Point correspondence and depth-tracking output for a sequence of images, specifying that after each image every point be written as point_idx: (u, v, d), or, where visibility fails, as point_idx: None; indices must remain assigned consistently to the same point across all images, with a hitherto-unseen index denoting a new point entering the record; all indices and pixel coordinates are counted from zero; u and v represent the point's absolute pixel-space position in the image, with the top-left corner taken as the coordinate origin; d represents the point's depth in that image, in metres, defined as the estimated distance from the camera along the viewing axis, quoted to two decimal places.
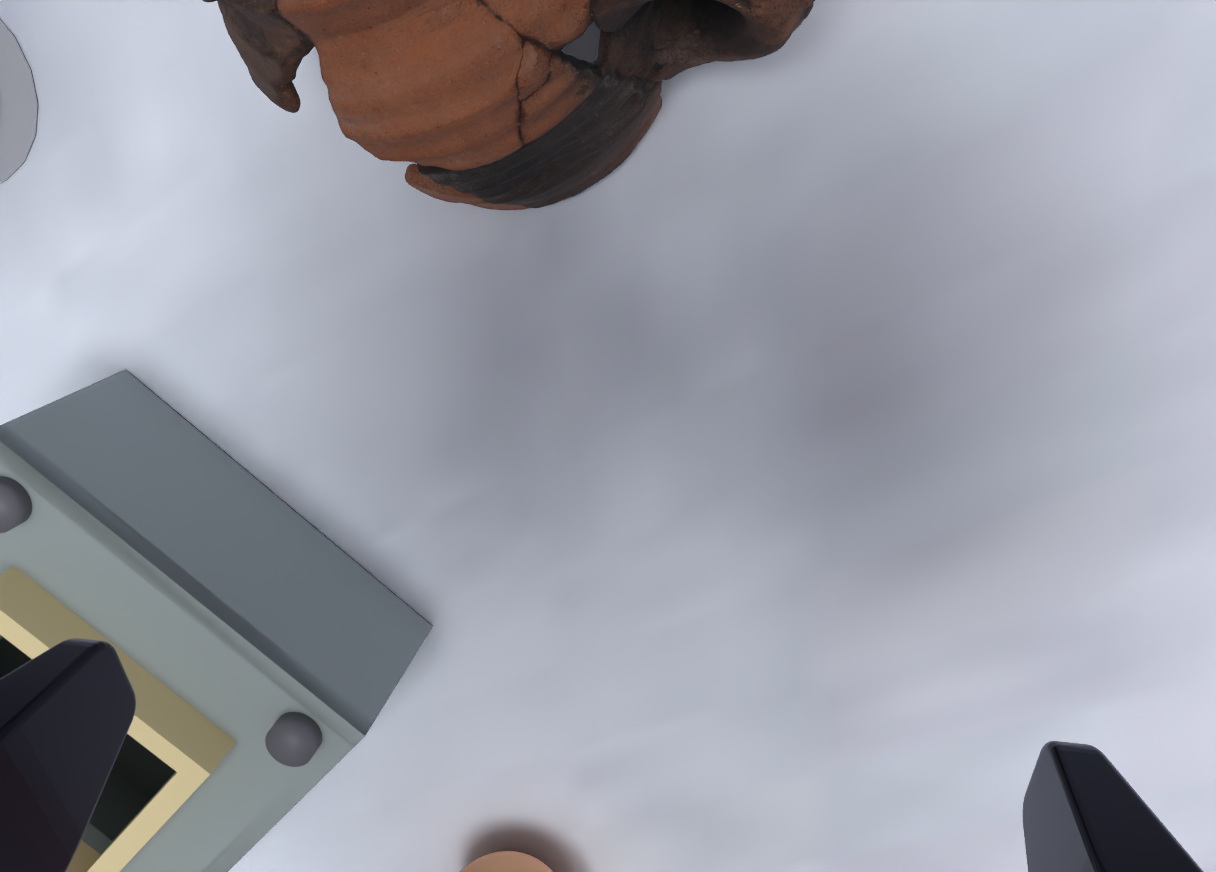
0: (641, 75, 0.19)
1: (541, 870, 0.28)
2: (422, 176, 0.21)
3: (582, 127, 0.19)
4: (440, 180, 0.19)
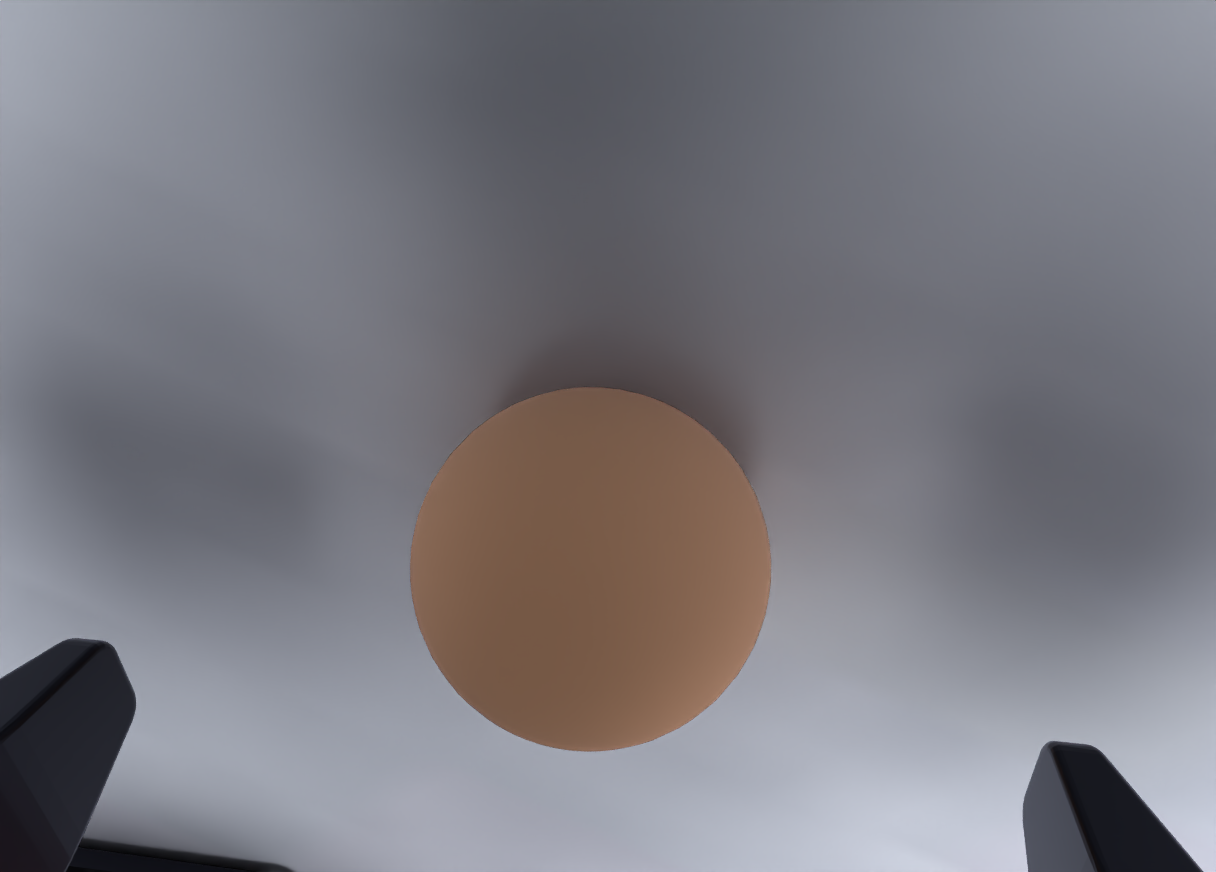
0: None
1: None
2: None
3: None
4: None
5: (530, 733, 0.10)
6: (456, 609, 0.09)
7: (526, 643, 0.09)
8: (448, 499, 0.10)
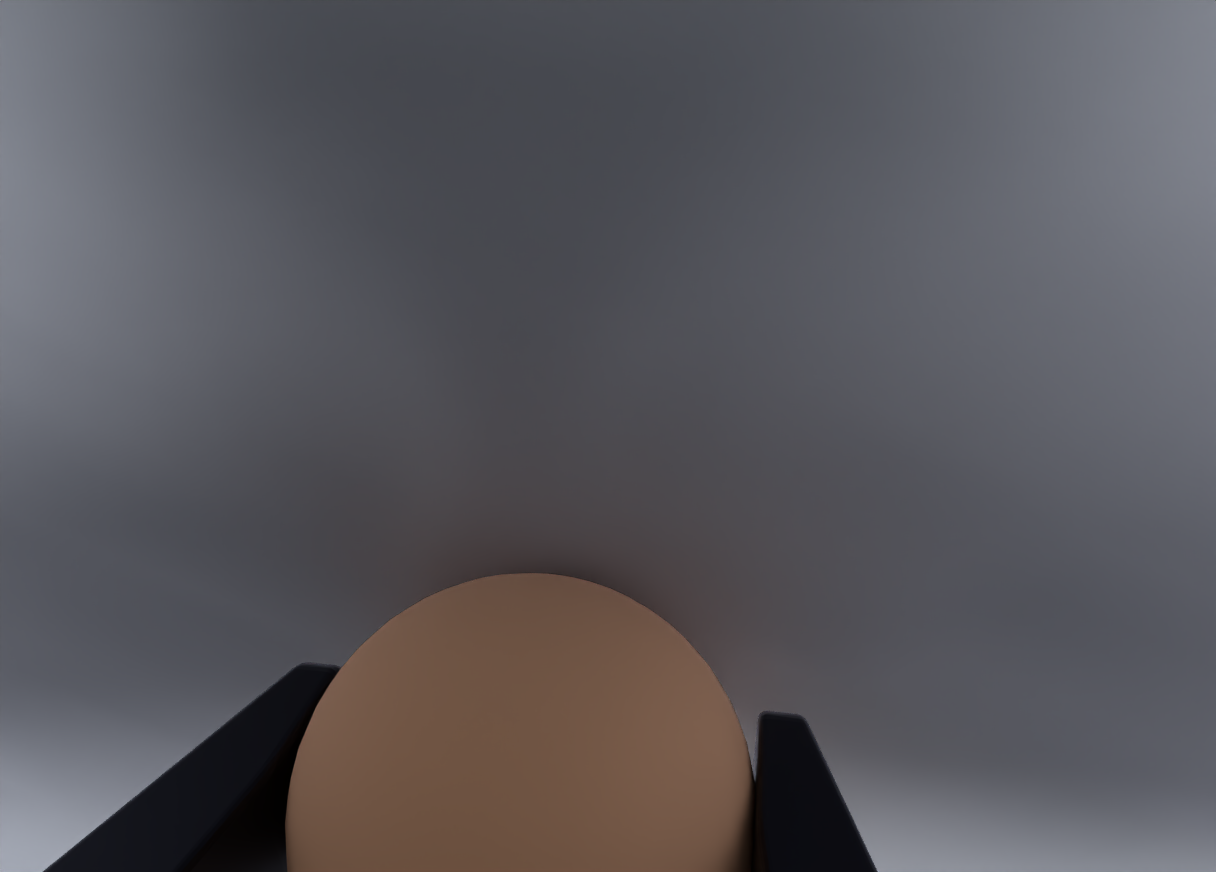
0: None
1: (746, 748, 0.08)
2: None
3: None
4: None
5: None
6: None
7: None
8: (325, 753, 0.07)
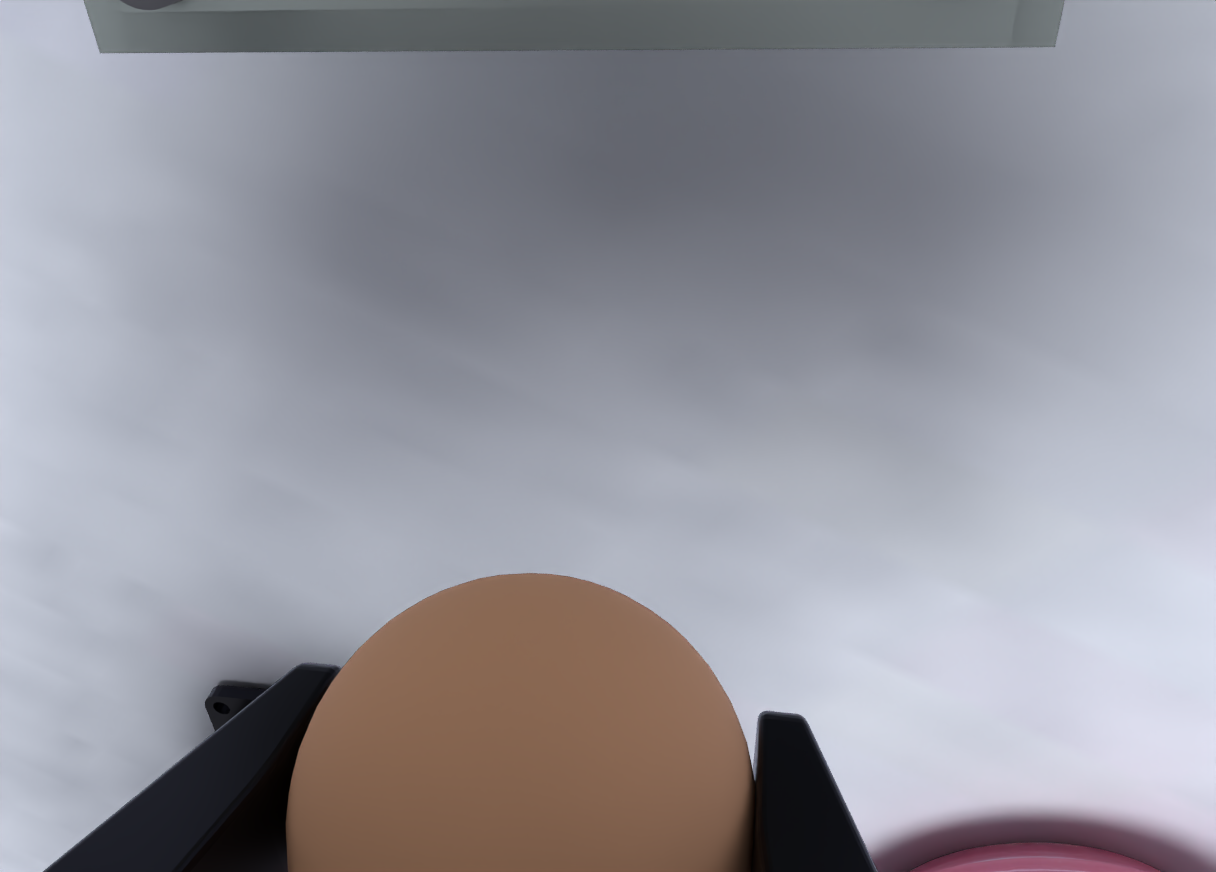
0: None
1: (746, 747, 0.08)
2: None
3: None
4: None
5: None
6: None
7: None
8: (326, 754, 0.07)
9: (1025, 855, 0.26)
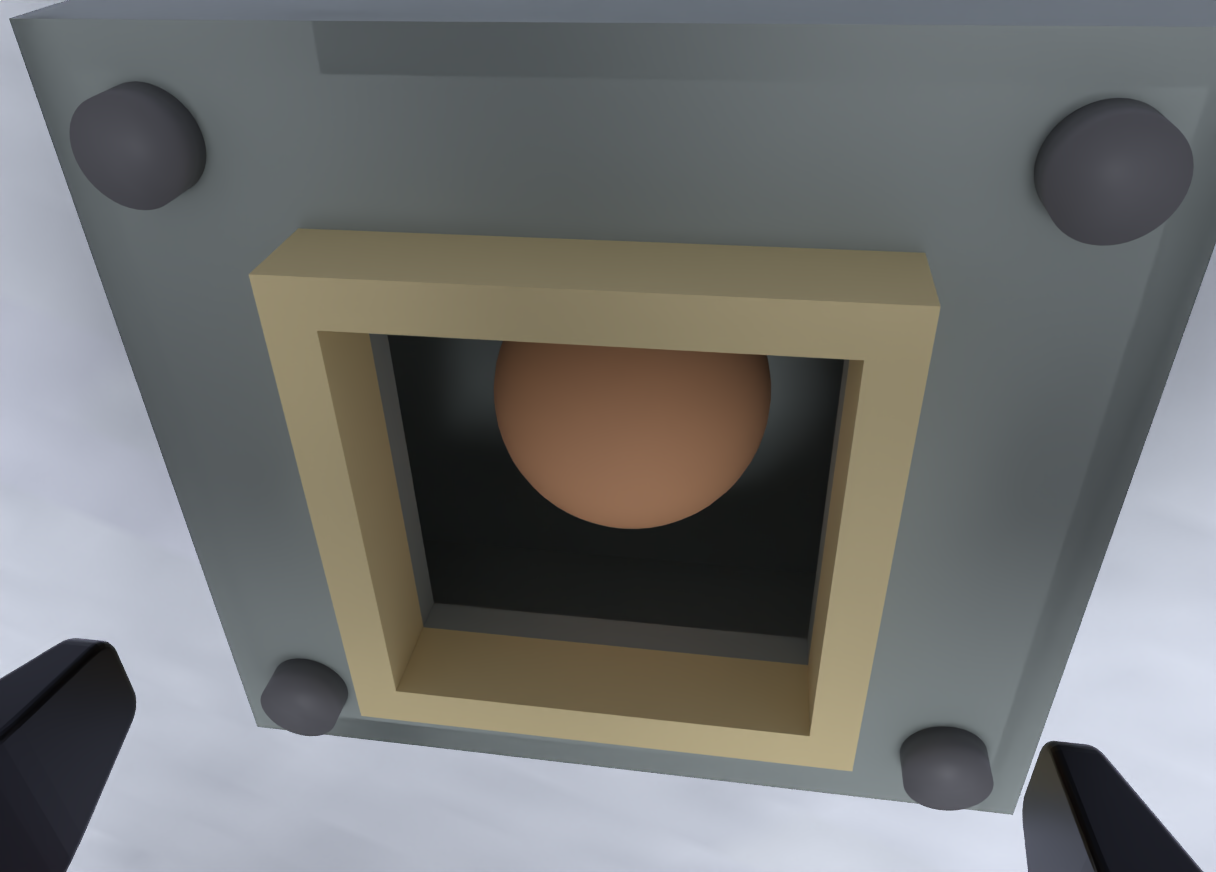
0: None
1: None
2: None
3: None
4: None
5: (590, 503, 0.13)
6: (537, 402, 0.12)
7: (591, 422, 0.12)
8: None
9: None
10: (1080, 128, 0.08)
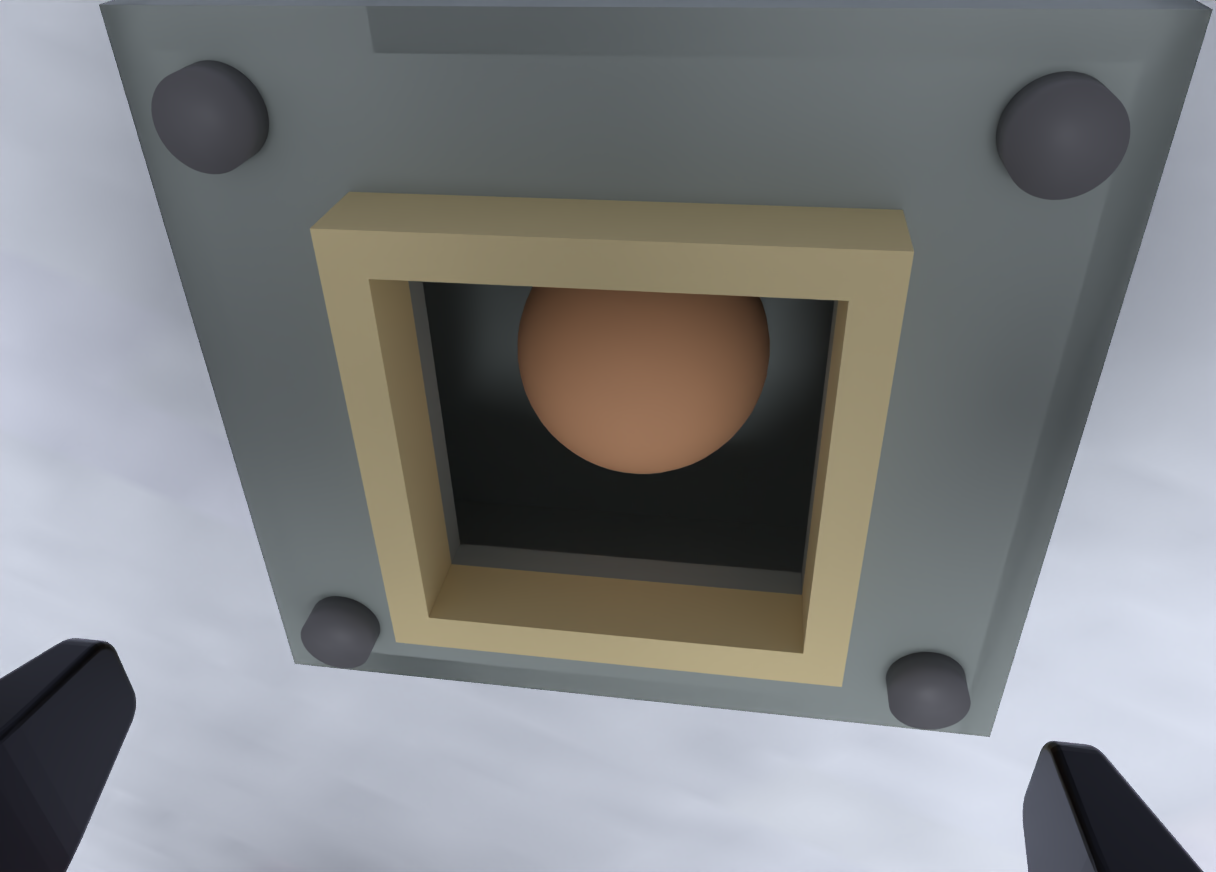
0: None
1: None
2: None
3: None
4: None
5: (607, 447, 0.14)
6: (559, 355, 0.14)
7: (610, 371, 0.13)
8: (550, 287, 0.14)
9: None
10: (1034, 96, 0.10)
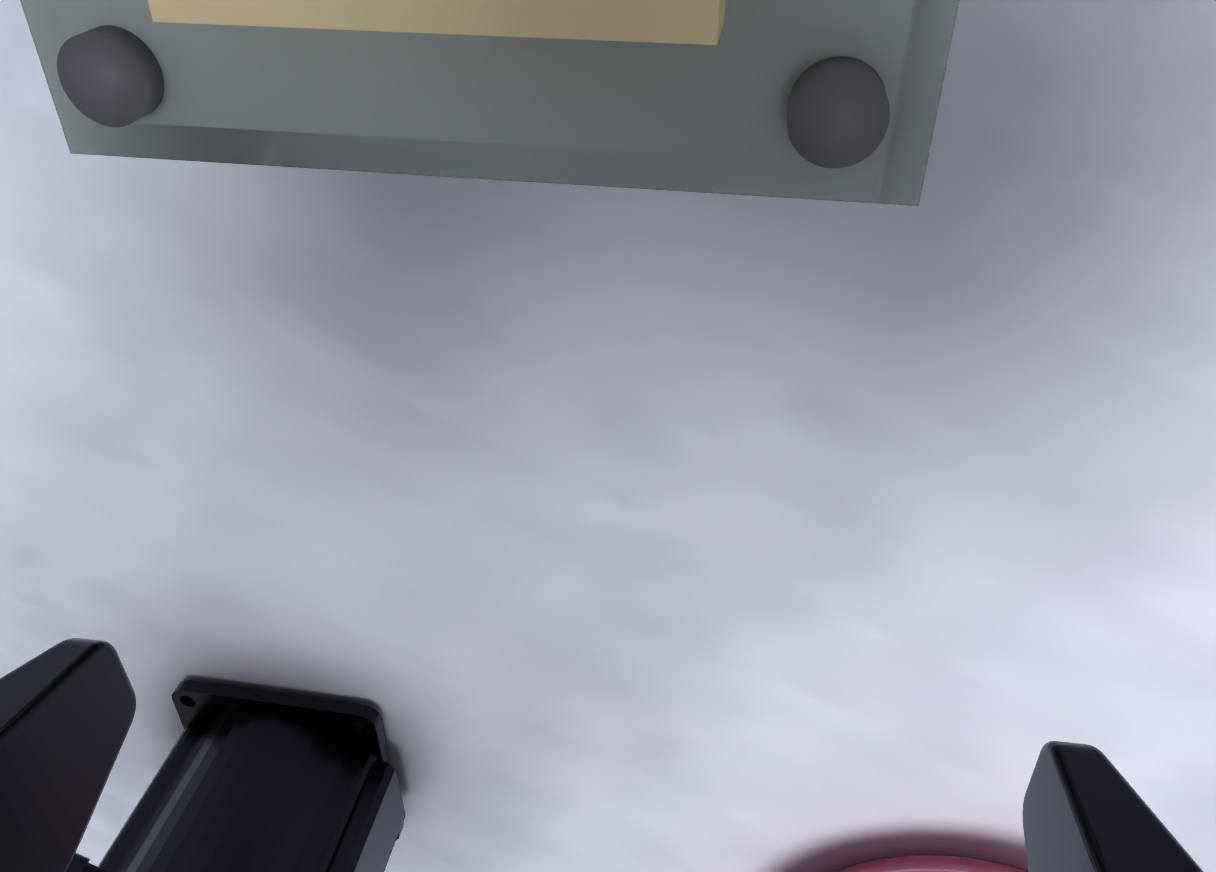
0: None
1: None
2: None
3: None
4: None
5: None
6: None
7: None
8: None
9: (932, 868, 0.28)
10: None
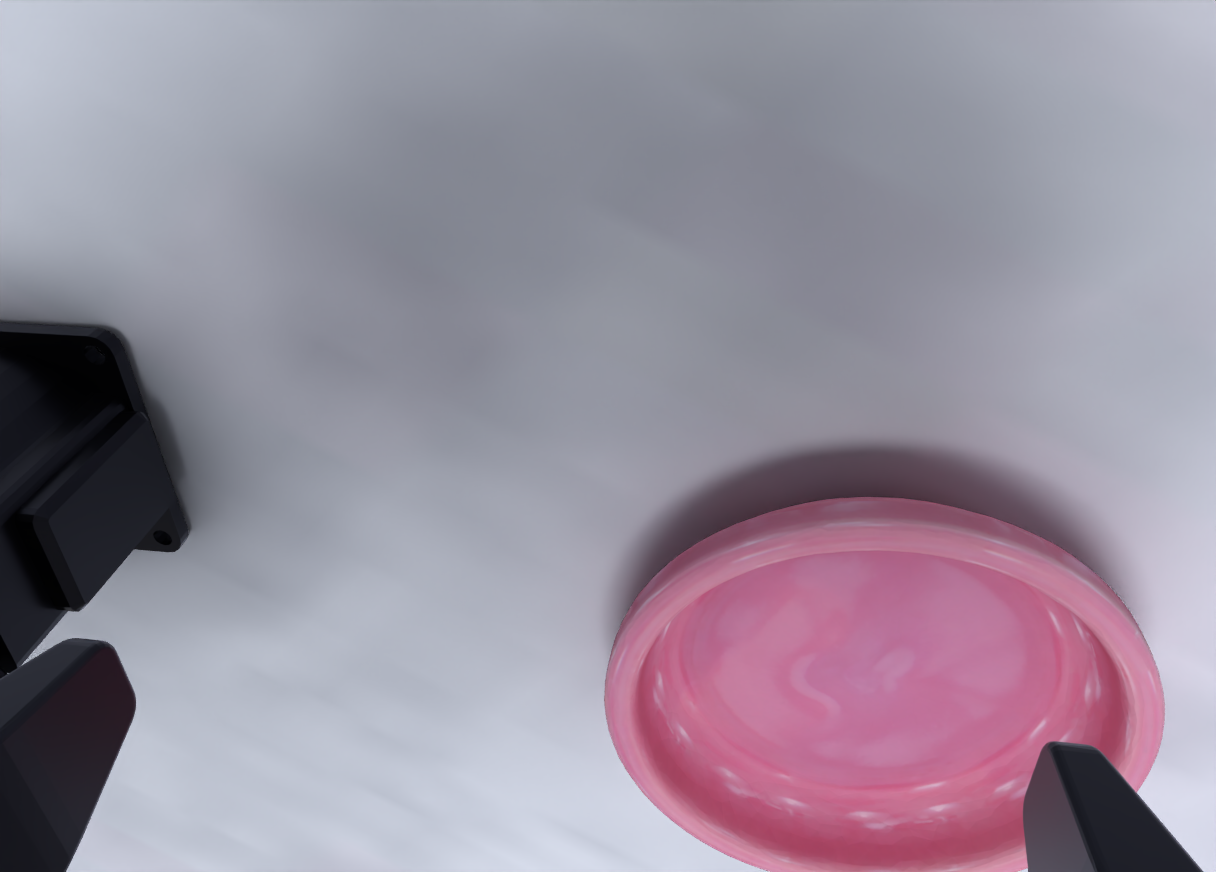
0: None
1: None
2: None
3: None
4: None
5: None
6: None
7: None
8: None
9: None
10: None
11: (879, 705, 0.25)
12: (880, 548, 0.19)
